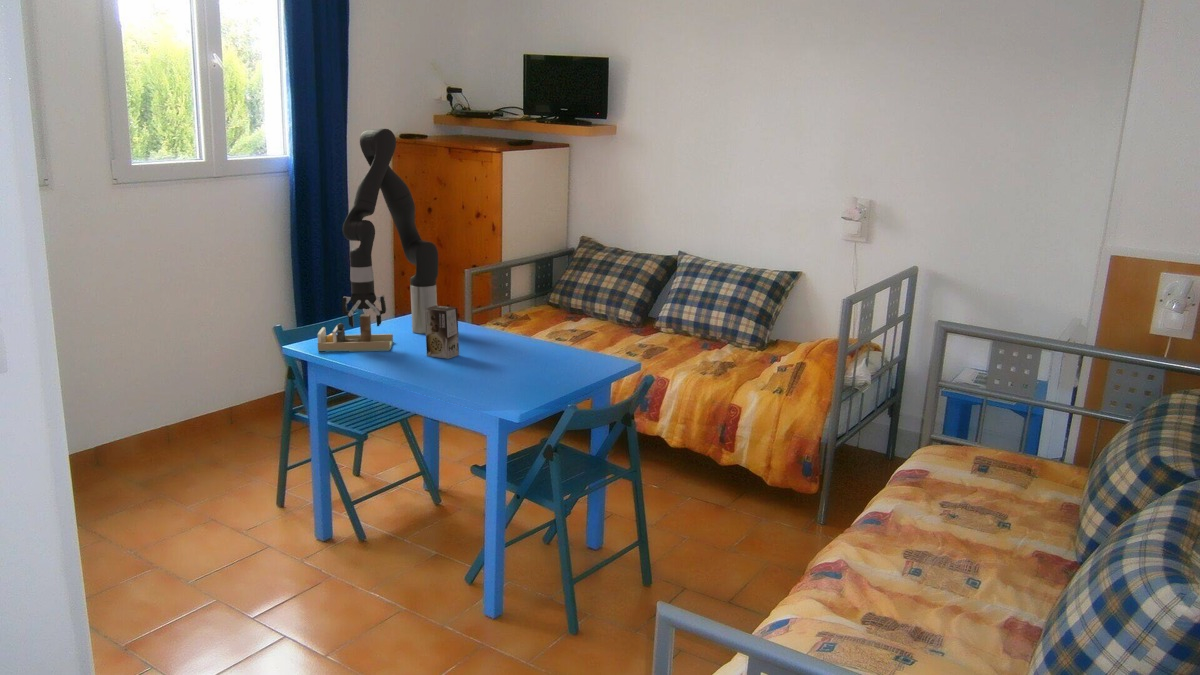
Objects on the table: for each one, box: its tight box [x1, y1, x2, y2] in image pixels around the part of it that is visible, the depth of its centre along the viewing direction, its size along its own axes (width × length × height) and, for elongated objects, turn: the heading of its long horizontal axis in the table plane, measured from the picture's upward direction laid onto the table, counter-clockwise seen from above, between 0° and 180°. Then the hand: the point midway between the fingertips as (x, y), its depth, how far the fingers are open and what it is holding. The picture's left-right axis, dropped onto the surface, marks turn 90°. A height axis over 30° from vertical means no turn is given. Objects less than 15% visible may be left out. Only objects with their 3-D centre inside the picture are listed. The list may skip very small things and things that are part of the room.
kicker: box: [336, 313, 372, 342], centre depth 318 cm, size 11×6×10 cm, turn 97°
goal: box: [316, 325, 339, 344], centre depth 317 cm, size 6×10×6 cm, turn 7°
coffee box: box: [425, 304, 460, 360], centre depth 307 cm, size 9×6×16 cm
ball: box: [327, 332, 338, 343], centre depth 318 cm, size 4×4×4 cm
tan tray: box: [317, 333, 394, 352], centre depth 319 cm, size 24×12×3 cm, turn 97°
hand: (365, 326), depth 318 cm, fingers open, 8 cm apart
